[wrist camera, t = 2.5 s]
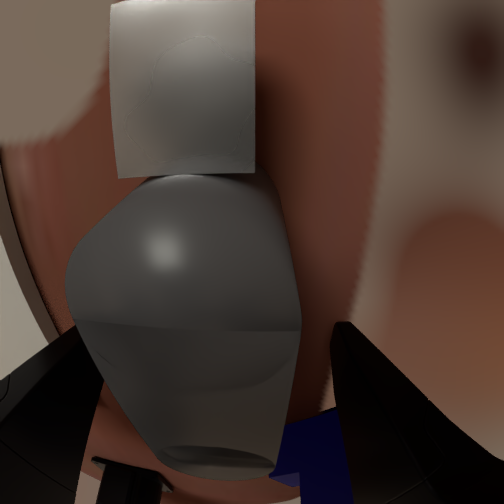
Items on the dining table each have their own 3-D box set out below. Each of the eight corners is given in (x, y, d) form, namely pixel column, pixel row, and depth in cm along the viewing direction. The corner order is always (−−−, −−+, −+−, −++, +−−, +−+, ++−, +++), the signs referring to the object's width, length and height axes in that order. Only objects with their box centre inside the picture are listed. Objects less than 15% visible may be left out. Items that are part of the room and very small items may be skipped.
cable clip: (268, 426, 13) (269, 532, 8) (353, 400, 12) (374, 515, 7) (337, 472, 18) (343, 533, 13) (389, 455, 17) (402, 518, 12)
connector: (285, 23, 5) (319, -56, 2) (269, 393, 11) (271, 481, 8) (133, 35, 5) (21, 3, 2) (186, 390, 11) (171, 474, 8)
